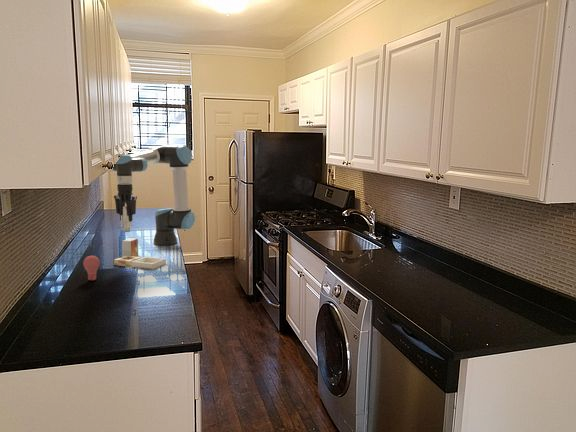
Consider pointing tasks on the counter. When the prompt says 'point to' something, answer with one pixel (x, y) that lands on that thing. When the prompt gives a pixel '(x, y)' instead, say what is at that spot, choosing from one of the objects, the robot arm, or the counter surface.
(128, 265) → the tan square ring
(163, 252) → the counter surface
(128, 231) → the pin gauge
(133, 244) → the small box
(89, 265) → the light bulb
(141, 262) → the tray
